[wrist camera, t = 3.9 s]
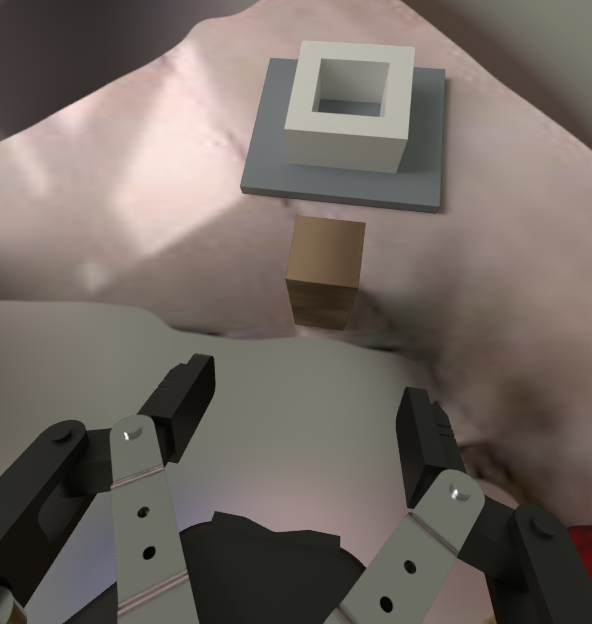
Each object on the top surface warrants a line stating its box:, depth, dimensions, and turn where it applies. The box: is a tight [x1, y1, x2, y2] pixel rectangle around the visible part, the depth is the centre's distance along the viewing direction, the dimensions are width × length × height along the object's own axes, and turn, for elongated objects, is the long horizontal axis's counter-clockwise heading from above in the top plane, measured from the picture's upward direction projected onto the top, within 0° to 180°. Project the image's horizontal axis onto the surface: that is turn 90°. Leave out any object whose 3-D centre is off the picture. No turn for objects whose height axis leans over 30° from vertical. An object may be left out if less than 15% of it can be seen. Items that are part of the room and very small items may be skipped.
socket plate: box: [240, 41, 445, 213], centre depth 31 cm, size 18×16×5 cm
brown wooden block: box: [285, 215, 366, 330], centre depth 23 cm, size 4×4×10 cm
